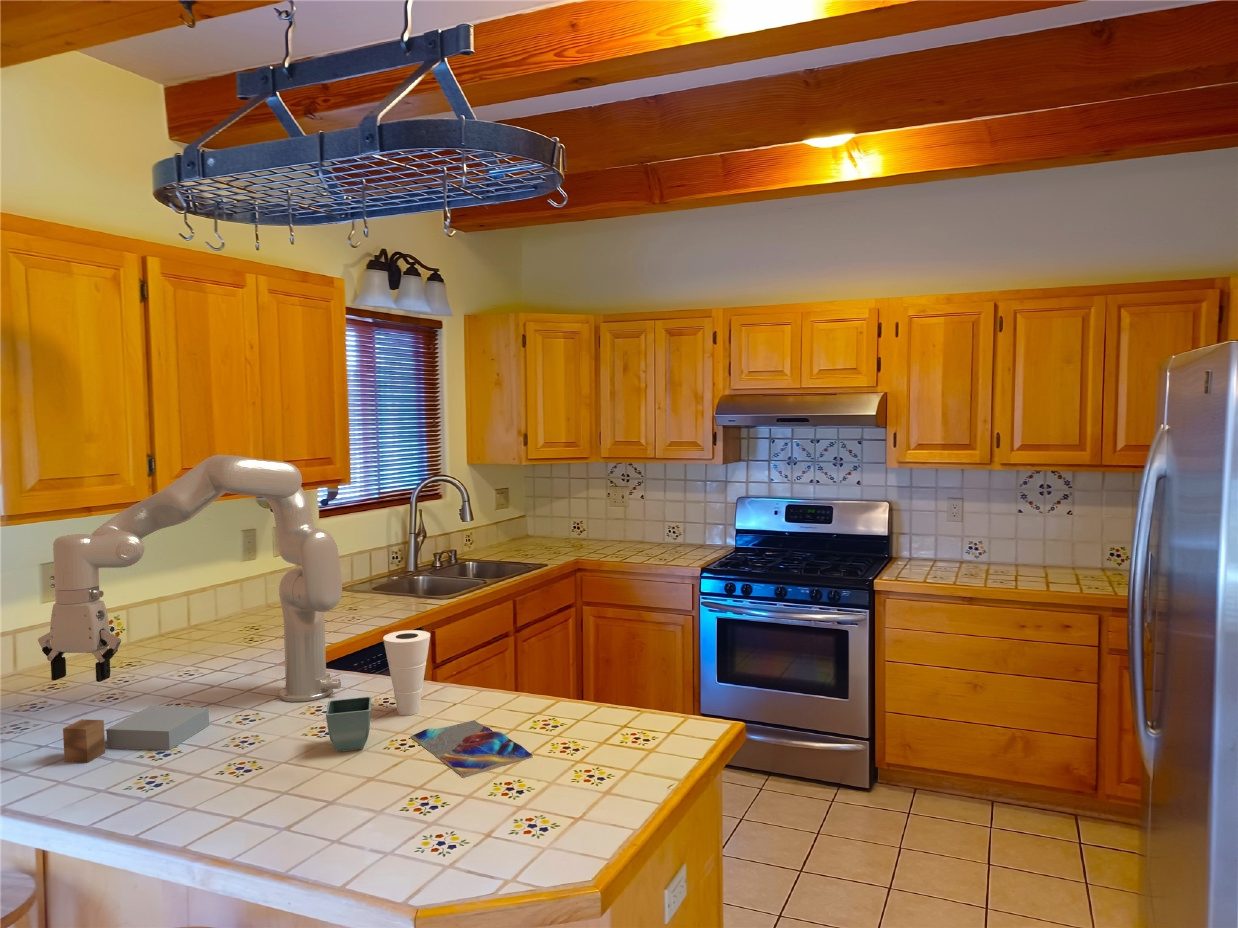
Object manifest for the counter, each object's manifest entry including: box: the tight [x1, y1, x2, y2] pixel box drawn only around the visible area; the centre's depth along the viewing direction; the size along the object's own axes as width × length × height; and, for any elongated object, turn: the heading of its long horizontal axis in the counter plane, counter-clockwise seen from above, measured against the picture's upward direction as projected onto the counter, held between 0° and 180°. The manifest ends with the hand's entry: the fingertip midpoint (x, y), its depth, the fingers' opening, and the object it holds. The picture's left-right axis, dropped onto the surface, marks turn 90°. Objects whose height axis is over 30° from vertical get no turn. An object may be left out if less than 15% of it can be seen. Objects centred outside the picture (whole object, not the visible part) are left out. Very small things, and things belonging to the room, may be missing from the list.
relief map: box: [410, 719, 534, 779], centre depth 175 cm, size 25×15×2 cm, turn 37°
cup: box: [382, 629, 431, 716], centre depth 195 cm, size 11×11×18 cm
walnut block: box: [62, 718, 106, 764], centre depth 170 cm, size 5×5×7 cm
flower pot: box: [325, 696, 372, 752], centre depth 175 cm, size 9×9×9 cm
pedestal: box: [105, 705, 210, 751], centre depth 182 cm, size 14×14×4 cm
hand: (81, 679), depth 170 cm, fingers open, 9 cm apart
